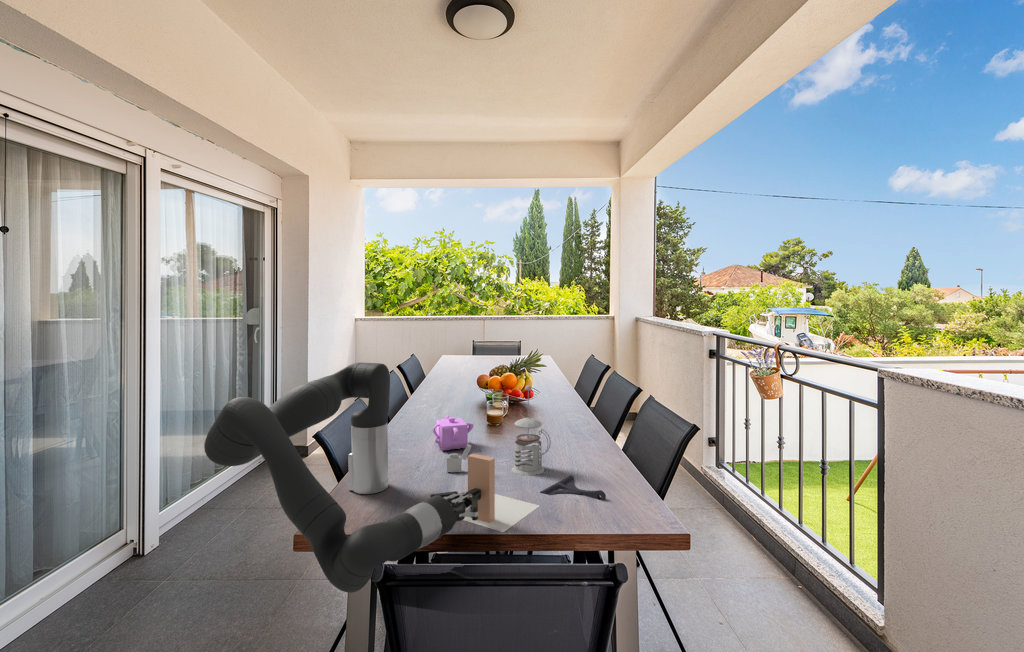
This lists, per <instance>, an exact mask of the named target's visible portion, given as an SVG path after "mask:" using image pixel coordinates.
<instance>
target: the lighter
mask: <svg viewBox="0 0 1024 652" xmlns="http://www.w3.org/2000/svg"><path fill="white" fill-rule="evenodd" d="M471 449H472V445H471V444H469V443H468V444H467V446H466V448H464V450H463V452H462V455H459V453H458V452H457V453H456V452H455V453H454V452H453V453H449V456H448V455H447V457H446V473H447V472H461V473H462V467H463V465H462V463H463V462H462V460H466V459H467V458H468V456H469V453H470V451H471ZM458 455H459V456H458Z"/></svg>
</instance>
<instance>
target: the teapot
mask: <svg viewBox="0 0 1024 652" xmlns="http://www.w3.org/2000/svg"><path fill="white" fill-rule="evenodd" d="M444 417H445V418H440V419H436V424H435V425H434V426H433V427H432V432H433V434H434V436H435V438H434V442H435V443H436V444H437V445H438V446H439V448H440V449H441V451H444V450H448V451H449V450H461V449H460V448H463V449H465V448H466V446H467V444H469V442H468V441H469V440H468V434H470V432H471V431H472V430H473V429H474V427H475V426H474V423H472V422H465V420H464V419H462V418H461V417H455V416H451V417H450V416H449V414H445V416H444Z"/></svg>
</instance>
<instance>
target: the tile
mask: <svg viewBox="0 0 1024 652" xmlns="http://www.w3.org/2000/svg"><path fill="white" fill-rule="evenodd" d="M495 459H496V458H495V457H491V456H490V457H489V456H486V455H481V454H476V453H471V454H468V455H467V491H469V490H472V489H474V488H477V489H481V499H480V500H478V520H482V521H485V522H488V523H490V522H492V521H493V520H495V494H496V493H495V491H496V489H495V485H496V483H495V478H496V477H495V473H496V472H495V469H496V466H495V464H496V463H495V461H496V460H495Z"/></svg>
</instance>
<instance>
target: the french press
mask: <svg viewBox="0 0 1024 652" xmlns="http://www.w3.org/2000/svg"><path fill="white" fill-rule="evenodd" d="M524 389H525V390H526V391H527V417H524V418H521V419H517V420H516V421H515V422H514V423H513V424H514V426H515V427H516V428H519V429H527V431H529V429H531V430H533V429H538V428H540V427H541V426H542V425H543V423H542V422H541V421H540V420H539V419H537V418H533V417H529V415H530V414H529V413H530V411H529V409H530V407H529V404H530V403H529V402H530V399H529V397H530V395H529V394H530V393H529V391H530V390H532V386H531V385H529V384H527V385H525V388H524ZM542 434H543V435H544V436H545V438H546V441H547V446H546V449H545V451H544V452H543V453H542V441H541V440H540V439H541V435H542ZM515 437H516V438H515V439H516V440H515V443H514V465H513V467H511V472H512V471H513V473H514V472H515V473H514V474H516V473H517V475H519V474H520V476H527V475H529V476H537V475H536V474H538V475H541V474H543V473H544V472H545V471H544V469H545V468H544V467H543V466H542V463H543V461H542V460H543V459H542V458H543V457H542V456H543V455H545V454H547V453H548V452H549V450H550V448H551V444H549V443H551V441H552V440H551V437H550V435H549V433H548V432H547V431H546V430H545V429H543V428H541V429H540V430H539V431H538V434H534V433H524V434H523V433H520V434H518V435H516V436H515ZM527 450H528V451H527ZM522 455H523V456H522ZM524 459H525V460H524Z"/></svg>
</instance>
